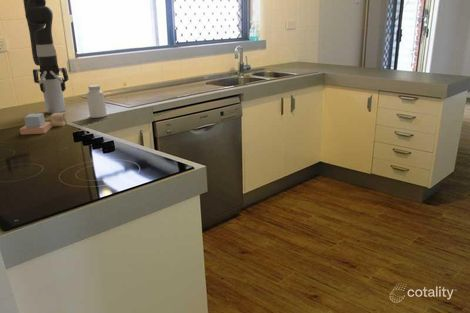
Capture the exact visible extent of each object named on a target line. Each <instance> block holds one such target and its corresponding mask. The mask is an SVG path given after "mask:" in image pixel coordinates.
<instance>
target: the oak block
mask: <svg viewBox="0 0 470 313" xmlns="http://www.w3.org/2000/svg"><path fill="white" fill-rule="evenodd" d="M50 120H51V121H50V122H52V127H64V126H65V125H66V124H67V123H68V122H67V114H66V112H60V113H51V115H50Z"/></svg>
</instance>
